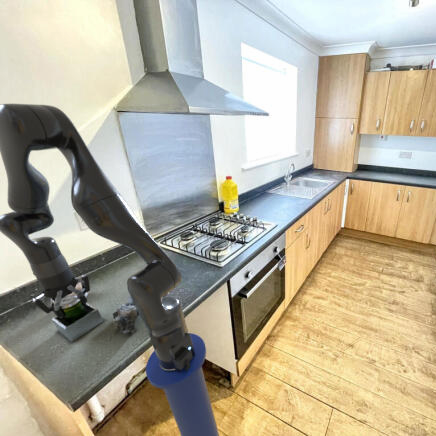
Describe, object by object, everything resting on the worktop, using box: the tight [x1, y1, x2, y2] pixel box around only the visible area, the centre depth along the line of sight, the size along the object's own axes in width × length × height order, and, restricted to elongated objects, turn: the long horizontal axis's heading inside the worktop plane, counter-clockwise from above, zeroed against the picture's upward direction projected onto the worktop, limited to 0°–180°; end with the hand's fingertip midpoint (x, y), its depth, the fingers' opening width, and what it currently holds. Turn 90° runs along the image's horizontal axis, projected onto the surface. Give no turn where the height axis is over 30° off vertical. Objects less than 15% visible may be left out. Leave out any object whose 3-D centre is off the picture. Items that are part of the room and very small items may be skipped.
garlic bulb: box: [67, 281, 90, 298], centre depth 92 cm, size 7×6×8 cm
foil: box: [111, 295, 138, 335], centre depth 83 cm, size 12×11×15 cm
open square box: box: [51, 302, 104, 342], centre depth 80 cm, size 9×9×6 cm
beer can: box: [59, 295, 87, 325], centre depth 79 cm, size 5×5×12 cm
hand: (73, 310), depth 78 cm, fingers closed on beer can, 5 cm apart
